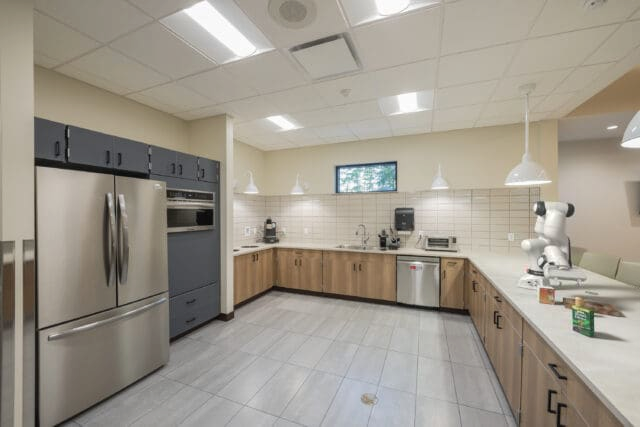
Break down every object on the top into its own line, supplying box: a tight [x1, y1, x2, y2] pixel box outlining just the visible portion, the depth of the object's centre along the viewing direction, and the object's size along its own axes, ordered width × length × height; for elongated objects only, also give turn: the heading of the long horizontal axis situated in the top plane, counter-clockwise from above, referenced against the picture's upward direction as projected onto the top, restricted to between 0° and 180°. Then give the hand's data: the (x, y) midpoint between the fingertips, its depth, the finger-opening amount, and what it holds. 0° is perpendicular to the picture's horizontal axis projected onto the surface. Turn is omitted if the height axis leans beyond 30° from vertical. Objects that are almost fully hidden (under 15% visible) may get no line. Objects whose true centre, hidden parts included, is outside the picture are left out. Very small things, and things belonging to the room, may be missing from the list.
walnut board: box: [562, 296, 620, 318], centre depth 155 cm, size 22×12×4 cm, turn 52°
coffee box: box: [571, 305, 595, 338], centre depth 125 cm, size 8×3×13 cm, turn 6°
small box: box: [536, 285, 556, 306], centre depth 166 cm, size 8×6×10 cm
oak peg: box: [574, 296, 585, 307], centre depth 147 cm, size 4×4×10 cm
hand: (569, 285), depth 155 cm, fingers open, 8 cm apart
